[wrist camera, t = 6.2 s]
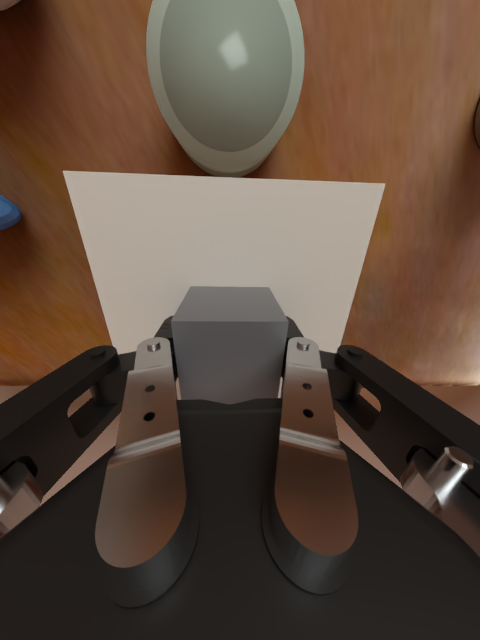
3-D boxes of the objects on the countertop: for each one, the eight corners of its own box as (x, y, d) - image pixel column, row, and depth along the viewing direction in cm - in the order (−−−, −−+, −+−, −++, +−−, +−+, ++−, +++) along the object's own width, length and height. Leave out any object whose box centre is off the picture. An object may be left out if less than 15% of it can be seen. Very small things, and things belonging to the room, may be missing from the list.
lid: (372, 186, 11) (490, 160, 6) (318, 396, 18) (353, 465, 13) (77, 175, 10) (-67, 133, 5) (136, 399, 17) (97, 474, 12)
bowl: (287, 43, 19) (319, -53, 13) (273, 183, 24) (292, 169, 17) (166, 31, 19) (131, -78, 12) (177, 177, 23) (157, 160, 17)
